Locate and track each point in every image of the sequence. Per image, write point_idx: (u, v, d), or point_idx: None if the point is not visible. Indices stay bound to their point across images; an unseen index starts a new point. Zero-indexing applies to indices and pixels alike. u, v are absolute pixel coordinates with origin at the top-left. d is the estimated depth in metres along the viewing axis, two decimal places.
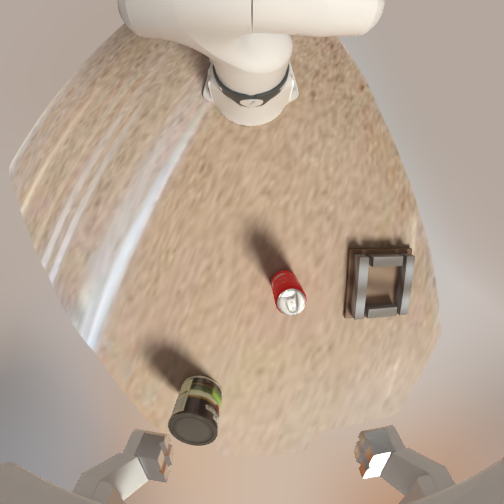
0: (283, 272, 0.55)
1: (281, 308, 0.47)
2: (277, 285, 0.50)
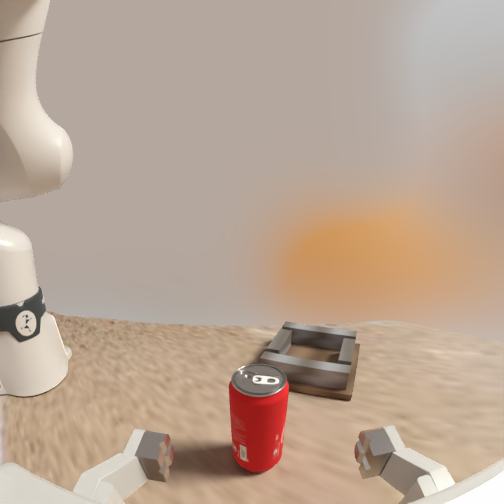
0: None
1: (263, 393, 0.21)
2: (232, 419, 0.23)
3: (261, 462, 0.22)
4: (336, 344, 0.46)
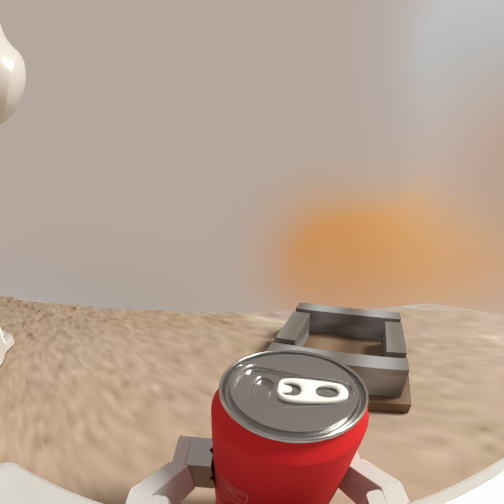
0: None
1: (315, 429, 0.06)
2: (218, 481, 0.08)
3: None
4: (373, 332, 0.32)
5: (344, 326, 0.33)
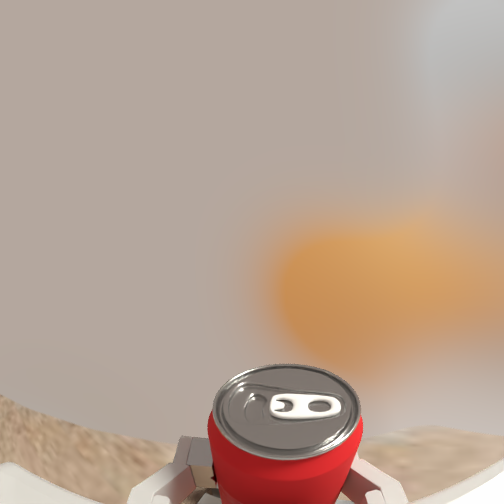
0: None
1: (306, 446, 0.06)
2: (222, 493, 0.08)
3: None
4: None
5: None
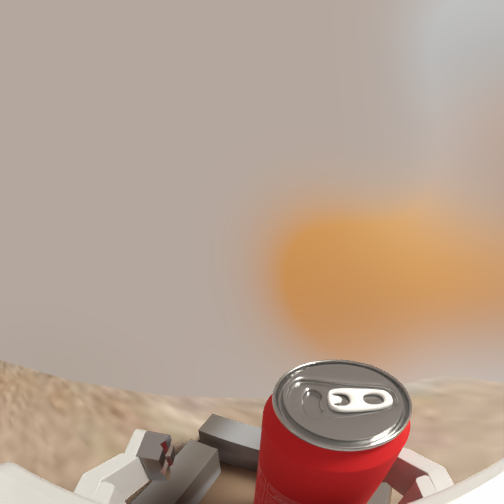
0: None
1: (372, 436, 0.06)
2: (266, 492, 0.08)
3: None
4: None
5: None
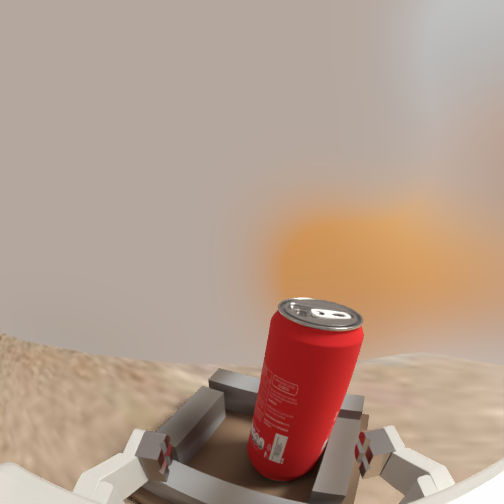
0: (250, 431, 0.16)
1: (340, 326, 0.13)
2: (271, 387, 0.14)
3: (302, 463, 0.14)
4: None
5: None
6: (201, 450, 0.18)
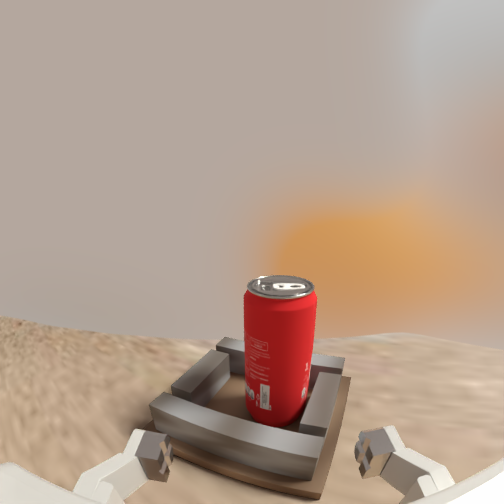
0: None
1: (292, 295, 0.18)
2: (250, 346, 0.20)
3: (287, 409, 0.20)
4: None
5: None
6: (210, 402, 0.24)
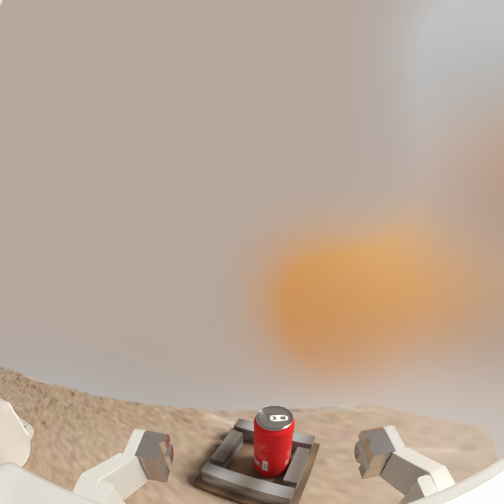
0: None
1: (280, 427, 0.30)
2: (257, 445, 0.31)
3: (277, 470, 0.32)
4: (291, 448, 0.37)
5: None
6: (232, 461, 0.36)
